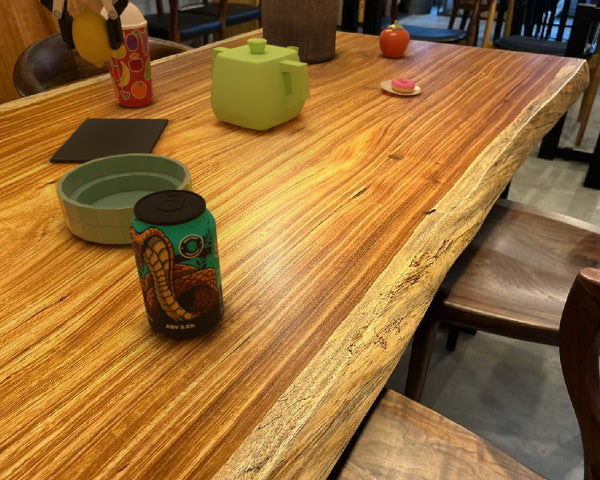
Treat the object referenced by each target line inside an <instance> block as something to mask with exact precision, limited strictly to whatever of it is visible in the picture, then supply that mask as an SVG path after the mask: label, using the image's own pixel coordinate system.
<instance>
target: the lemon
mask: <svg viewBox="0 0 600 480" xmlns="http://www.w3.org/2000/svg"><path fill="white" fill-rule="evenodd" d="M100 13H101V12H98V11H97V10H94V9H92V8H91V7H90V6H85V7H84V8H83V10H81V11H79V12H77V14H76V15H75V16H74V17H73V18H74V20H73V23H72V36H73V41H74V44H75V47H76V48H75V49H76V51H77V53H78V55H79V56H80V57H81V59H83V60H85V61H86V62H88V63H90V64H93V65H94V66H95V67H96V68H102V67H103V66H104V64H105V63H107V61H108V60H109V59H110V58H111V56H112V54H113V51H114V50H113V49H111V45H110V40H109V35H108V30H107V24H106V19H105V17H104V16H102V15H101V14H100Z"/></svg>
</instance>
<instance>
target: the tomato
mask: <svg viewBox="0 0 600 480" xmlns="http://www.w3.org/2000/svg"><path fill="white" fill-rule="evenodd" d="M410 36H411V35H410V34H409V32H408V30H406V29H405V28H404V26H403V25H401V24H399V21H398V20H397V19H395V20H394V22H393V24H390V25H388V26H386V28H385V29H383V30H382V31H381V32H380V34H379V38H378V44H379V49H380V52H381V54H383V56H384V57H386V58H388V59H399V58H401V57H402V56H403V55H404V54H405V53H406V51H407V49H408V47H409V45H410V40H411V39H410Z"/></svg>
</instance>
